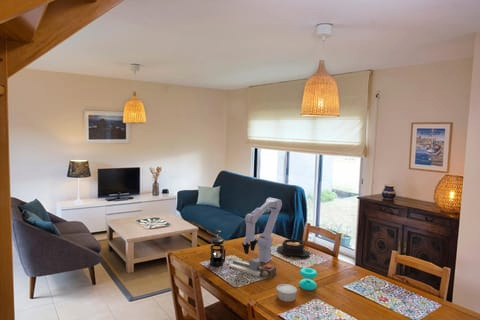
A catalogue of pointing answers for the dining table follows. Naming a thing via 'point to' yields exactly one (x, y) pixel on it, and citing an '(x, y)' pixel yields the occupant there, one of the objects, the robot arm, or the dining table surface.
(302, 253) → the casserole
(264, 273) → the cabinet
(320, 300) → the dining table surface
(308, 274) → the donuts
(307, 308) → the dining table surface
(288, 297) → the ramekin
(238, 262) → the rail
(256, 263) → the carriage
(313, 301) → the dining table surface
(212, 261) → the french press
